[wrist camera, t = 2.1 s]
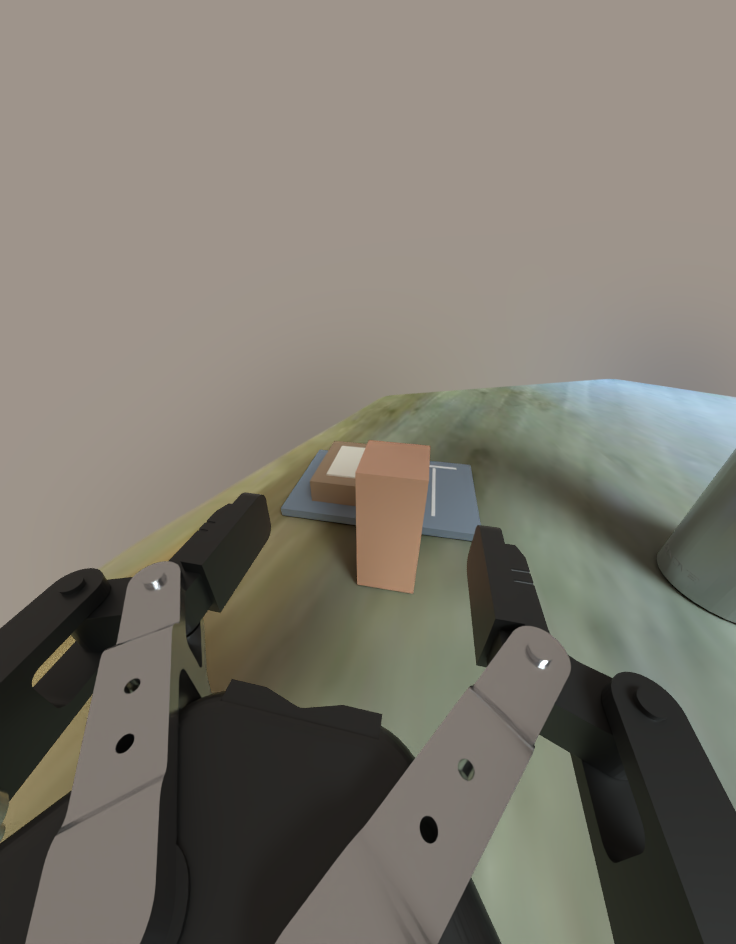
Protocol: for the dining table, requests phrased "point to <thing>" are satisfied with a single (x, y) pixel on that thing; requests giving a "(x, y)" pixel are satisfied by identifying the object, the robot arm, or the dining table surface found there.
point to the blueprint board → (447, 502)
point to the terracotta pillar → (390, 513)
